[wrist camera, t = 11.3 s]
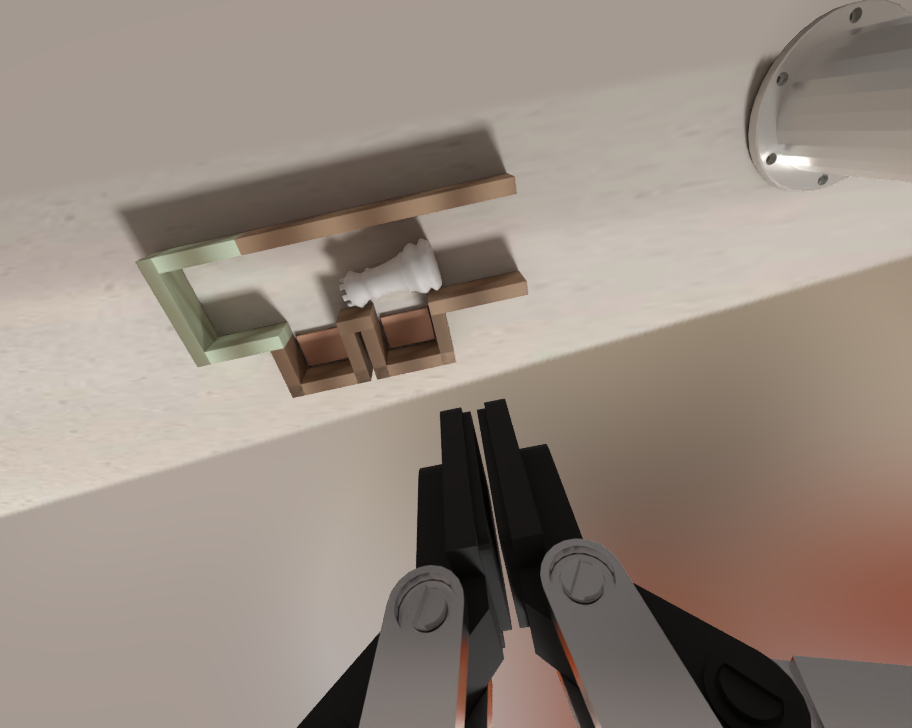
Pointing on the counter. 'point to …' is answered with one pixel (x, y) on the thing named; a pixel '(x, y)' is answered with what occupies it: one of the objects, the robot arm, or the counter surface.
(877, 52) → the robot arm
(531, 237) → the counter surface
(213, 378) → the counter surface
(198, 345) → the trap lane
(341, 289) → the rook chess piece
